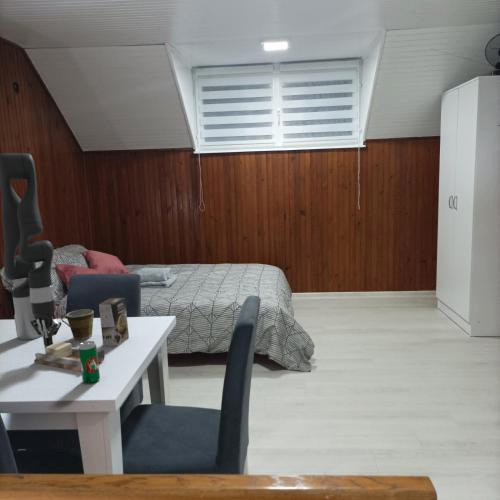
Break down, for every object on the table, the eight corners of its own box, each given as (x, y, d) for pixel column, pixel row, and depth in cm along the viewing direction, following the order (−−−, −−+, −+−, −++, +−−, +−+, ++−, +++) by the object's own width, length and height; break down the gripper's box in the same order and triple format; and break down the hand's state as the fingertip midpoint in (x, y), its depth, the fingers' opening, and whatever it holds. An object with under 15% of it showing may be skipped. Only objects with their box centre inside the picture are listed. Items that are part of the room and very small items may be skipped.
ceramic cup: (100, 332, 181) (97, 308, 179) (89, 341, 171) (86, 316, 170) (69, 333, 182) (66, 309, 181) (57, 342, 173) (53, 317, 171)
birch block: (46, 358, 154) (44, 347, 153) (60, 352, 159) (58, 341, 159) (58, 361, 151) (57, 349, 151) (72, 354, 157) (71, 343, 156)
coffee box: (118, 346, 165) (114, 304, 162) (102, 346, 166) (97, 303, 164) (129, 337, 174) (125, 297, 171) (114, 337, 175) (110, 297, 172)
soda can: (85, 377, 140) (80, 341, 138) (101, 376, 140) (97, 339, 138) (80, 385, 135) (76, 347, 133) (97, 383, 135) (93, 345, 133)
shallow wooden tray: (34, 362, 154) (32, 351, 153) (57, 351, 163) (56, 341, 162) (84, 372, 144) (82, 360, 143) (106, 360, 153) (105, 348, 152)
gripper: (19, 300, 153) (26, 348, 156) (47, 303, 148) (53, 353, 150) (38, 294, 160) (44, 341, 163) (65, 297, 154) (71, 345, 157)
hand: (48, 347), depth 156 cm, fingers closed
